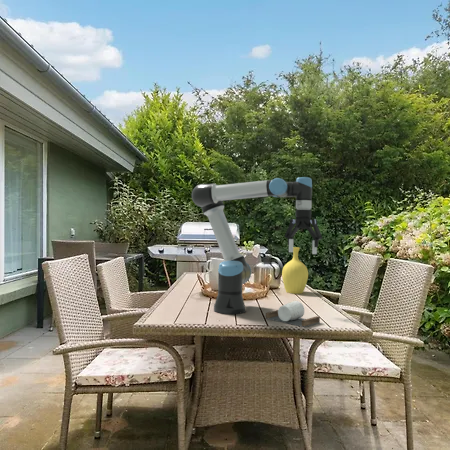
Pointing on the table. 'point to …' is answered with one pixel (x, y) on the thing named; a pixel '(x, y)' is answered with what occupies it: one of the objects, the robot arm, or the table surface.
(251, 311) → the table surface
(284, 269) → the vase
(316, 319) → the mat rails
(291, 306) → the white cup
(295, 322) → the drying mat
